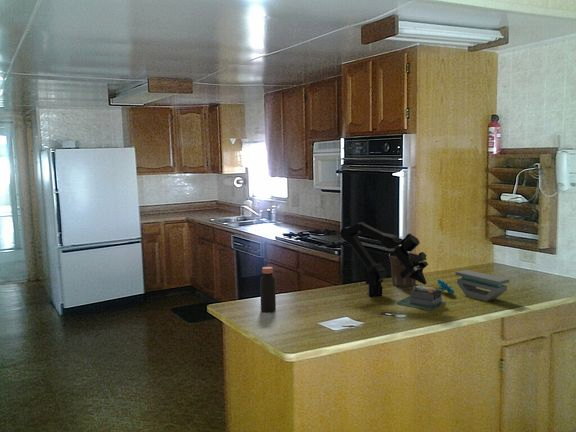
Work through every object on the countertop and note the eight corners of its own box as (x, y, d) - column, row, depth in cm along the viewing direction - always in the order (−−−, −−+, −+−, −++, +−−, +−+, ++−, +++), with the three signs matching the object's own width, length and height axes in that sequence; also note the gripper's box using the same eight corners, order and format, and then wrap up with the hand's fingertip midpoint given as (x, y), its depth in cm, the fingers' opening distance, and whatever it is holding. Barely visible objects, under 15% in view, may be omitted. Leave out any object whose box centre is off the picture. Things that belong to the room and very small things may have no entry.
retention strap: (414, 289, 251) (414, 286, 251) (417, 288, 254) (417, 285, 253) (433, 292, 245) (433, 289, 245) (436, 290, 247) (436, 288, 247)
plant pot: (425, 283, 289) (425, 254, 287) (410, 289, 277) (410, 259, 275) (398, 279, 300) (398, 251, 298) (383, 285, 288) (383, 255, 286)
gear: (458, 292, 263) (444, 279, 262) (450, 302, 263) (436, 288, 262) (448, 290, 274) (434, 277, 273) (441, 299, 274) (427, 285, 273)
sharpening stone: (508, 301, 253) (509, 279, 251) (498, 304, 248) (498, 281, 247) (465, 290, 274) (466, 269, 272) (455, 293, 269) (455, 271, 268)
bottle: (258, 309, 246) (257, 266, 244) (272, 308, 248) (272, 265, 246) (263, 313, 240) (262, 269, 237) (277, 312, 242) (277, 268, 240)
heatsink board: (396, 303, 252) (396, 285, 251) (410, 297, 263) (410, 280, 262) (432, 310, 241) (432, 291, 239) (445, 303, 251) (445, 285, 250)
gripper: (406, 250, 243) (428, 277, 238) (424, 244, 257) (446, 270, 252) (390, 264, 249) (411, 291, 244) (409, 258, 263) (430, 283, 258)
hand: (425, 283), depth 249 cm, fingers closed
